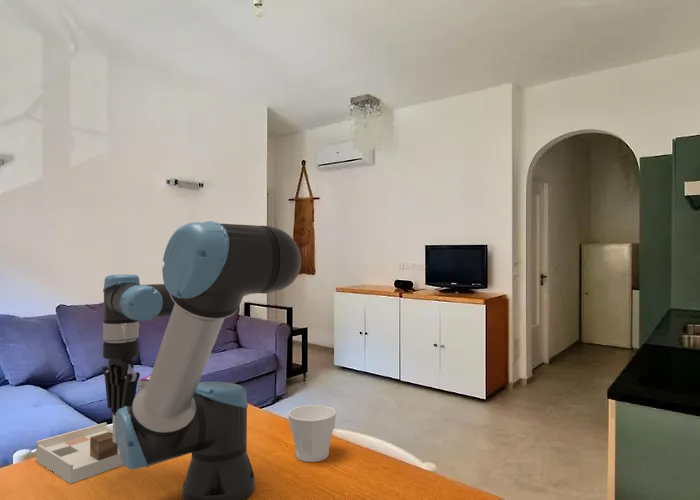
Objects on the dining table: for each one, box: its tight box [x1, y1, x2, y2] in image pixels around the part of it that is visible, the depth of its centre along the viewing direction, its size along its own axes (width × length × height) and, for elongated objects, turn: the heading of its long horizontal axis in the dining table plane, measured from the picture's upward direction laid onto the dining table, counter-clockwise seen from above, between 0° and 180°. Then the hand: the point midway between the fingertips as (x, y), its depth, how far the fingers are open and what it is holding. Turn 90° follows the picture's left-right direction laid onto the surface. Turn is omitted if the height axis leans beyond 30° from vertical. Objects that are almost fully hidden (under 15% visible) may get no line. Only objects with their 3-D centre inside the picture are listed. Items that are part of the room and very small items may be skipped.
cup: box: [287, 404, 337, 463], centre depth 118 cm, size 12×12×11 cm
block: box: [90, 432, 118, 460], centre depth 112 cm, size 4×4×4 cm
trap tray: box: [35, 422, 125, 485], centre depth 116 cm, size 20×17×5 cm
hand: (119, 440), depth 107 cm, fingers closed
